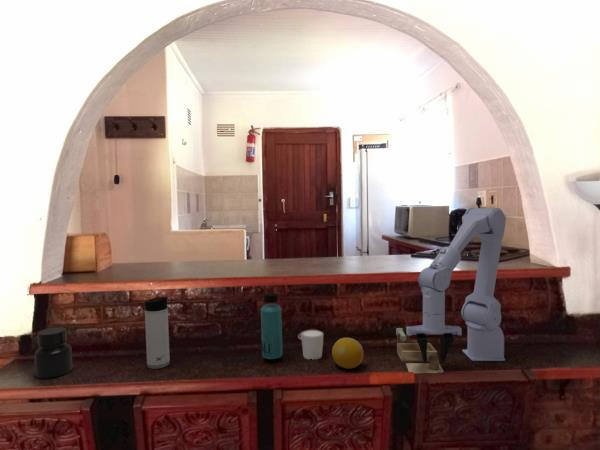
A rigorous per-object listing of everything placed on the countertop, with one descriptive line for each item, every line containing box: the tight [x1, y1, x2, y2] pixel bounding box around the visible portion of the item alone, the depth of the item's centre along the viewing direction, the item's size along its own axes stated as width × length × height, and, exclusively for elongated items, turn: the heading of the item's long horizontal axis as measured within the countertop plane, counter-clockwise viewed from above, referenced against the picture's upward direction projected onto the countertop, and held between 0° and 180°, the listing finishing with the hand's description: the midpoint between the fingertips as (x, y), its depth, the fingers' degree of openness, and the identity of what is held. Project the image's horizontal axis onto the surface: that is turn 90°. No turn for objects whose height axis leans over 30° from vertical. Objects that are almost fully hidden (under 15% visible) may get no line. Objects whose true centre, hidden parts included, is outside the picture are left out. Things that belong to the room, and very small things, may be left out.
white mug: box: [300, 329, 325, 361], centre depth 121 cm, size 7×7×7 cm
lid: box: [405, 354, 445, 374], centre depth 110 cm, size 9×6×4 cm
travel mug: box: [144, 296, 171, 370], centre depth 116 cm, size 6×7×20 cm
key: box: [395, 327, 406, 342], centre depth 125 cm, size 2×6×2 cm, turn 178°
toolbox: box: [396, 333, 438, 363], centre depth 119 cm, size 10×8×6 cm
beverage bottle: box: [260, 292, 284, 360], centre depth 118 cm, size 6×7×20 cm
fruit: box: [331, 337, 365, 370], centre depth 112 cm, size 9×8×8 cm
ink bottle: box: [34, 326, 73, 379], centre depth 112 cm, size 10×9×12 cm
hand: (433, 360), depth 110 cm, fingers open, 4 cm apart
